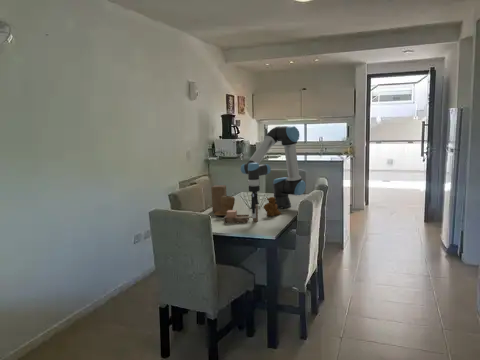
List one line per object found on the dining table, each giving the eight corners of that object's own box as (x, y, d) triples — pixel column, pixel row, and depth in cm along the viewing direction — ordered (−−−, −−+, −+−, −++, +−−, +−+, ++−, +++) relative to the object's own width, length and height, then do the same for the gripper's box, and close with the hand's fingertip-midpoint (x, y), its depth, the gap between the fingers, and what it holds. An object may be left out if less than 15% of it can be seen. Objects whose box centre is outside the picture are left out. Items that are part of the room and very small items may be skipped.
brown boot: (237, 213, 302) (236, 194, 300) (233, 217, 291) (232, 197, 289) (218, 213, 306) (217, 194, 304) (213, 217, 295) (212, 197, 293)
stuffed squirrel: (281, 213, 297) (281, 196, 295) (274, 217, 284) (274, 199, 283) (269, 212, 301) (268, 195, 300) (261, 217, 289) (261, 199, 287)
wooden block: (224, 212, 311) (223, 186, 308) (212, 212, 313) (210, 186, 310) (227, 209, 320) (226, 184, 318) (215, 209, 322) (214, 184, 320)
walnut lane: (249, 219, 283) (248, 214, 283) (247, 222, 273) (246, 218, 273) (226, 219, 286) (226, 214, 285) (224, 223, 276) (223, 218, 275)
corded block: (258, 219, 280) (257, 204, 279) (257, 221, 274) (256, 205, 273) (228, 219, 283) (227, 204, 282) (227, 221, 277) (226, 206, 276)
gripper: (250, 182, 287) (251, 211, 290) (246, 188, 262) (247, 219, 265) (261, 182, 286) (262, 211, 288) (257, 188, 261) (258, 219, 264)
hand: (255, 215), depth 277 cm, fingers open, 13 cm apart
